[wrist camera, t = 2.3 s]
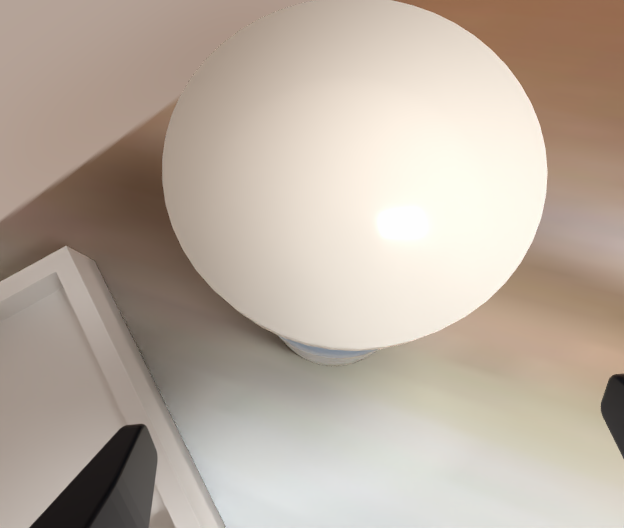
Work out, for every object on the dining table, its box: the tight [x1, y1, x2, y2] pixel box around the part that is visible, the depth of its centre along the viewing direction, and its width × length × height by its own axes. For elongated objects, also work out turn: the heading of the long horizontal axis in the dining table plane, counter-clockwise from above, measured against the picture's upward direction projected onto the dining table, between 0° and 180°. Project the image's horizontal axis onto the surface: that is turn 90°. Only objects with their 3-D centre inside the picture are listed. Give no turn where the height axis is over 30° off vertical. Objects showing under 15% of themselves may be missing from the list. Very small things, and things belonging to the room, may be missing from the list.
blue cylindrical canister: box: [162, 0, 547, 366], centre depth 14 cm, size 6×6×14 cm
